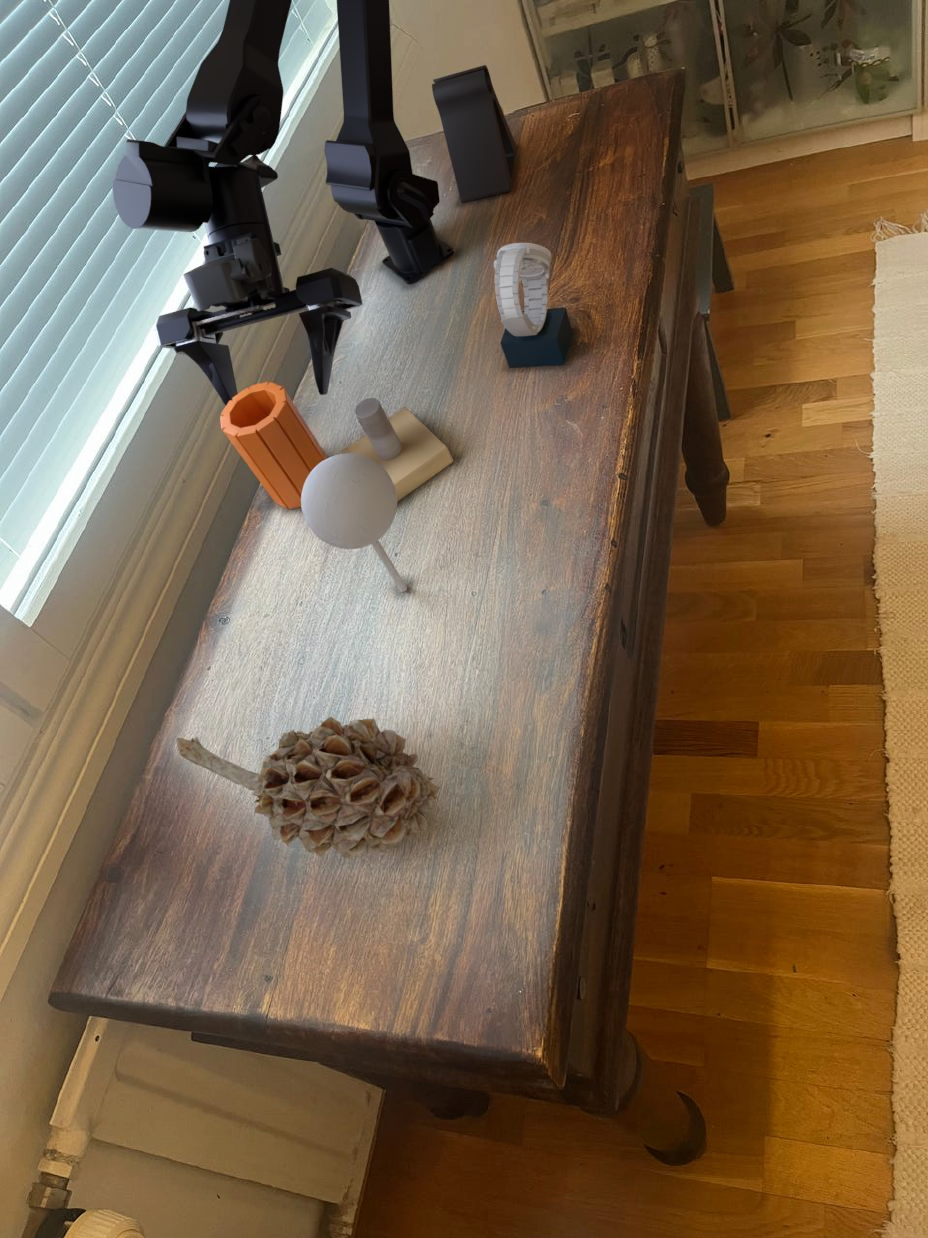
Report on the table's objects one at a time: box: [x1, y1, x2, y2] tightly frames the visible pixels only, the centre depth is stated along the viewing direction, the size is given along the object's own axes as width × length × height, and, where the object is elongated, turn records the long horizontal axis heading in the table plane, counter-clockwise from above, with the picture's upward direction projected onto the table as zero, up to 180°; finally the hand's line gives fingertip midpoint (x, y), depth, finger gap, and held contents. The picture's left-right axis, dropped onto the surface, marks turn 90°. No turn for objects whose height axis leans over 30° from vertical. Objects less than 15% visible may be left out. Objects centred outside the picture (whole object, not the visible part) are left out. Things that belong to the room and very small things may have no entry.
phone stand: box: [431, 64, 518, 204], centre depth 105 cm, size 9×6×12 cm, turn 173°
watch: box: [493, 242, 574, 369], centre depth 85 cm, size 6×8×11 cm
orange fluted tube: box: [219, 381, 328, 510], centre depth 86 cm, size 6×7×10 cm
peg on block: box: [336, 397, 454, 503], centre depth 84 cm, size 8×8×8 cm
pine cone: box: [175, 716, 441, 860], centre depth 65 cm, size 22×10×10 cm, turn 74°
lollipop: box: [300, 453, 408, 593], centre depth 72 cm, size 7×7×15 cm
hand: (279, 405), depth 87 cm, fingers open, 9 cm apart
